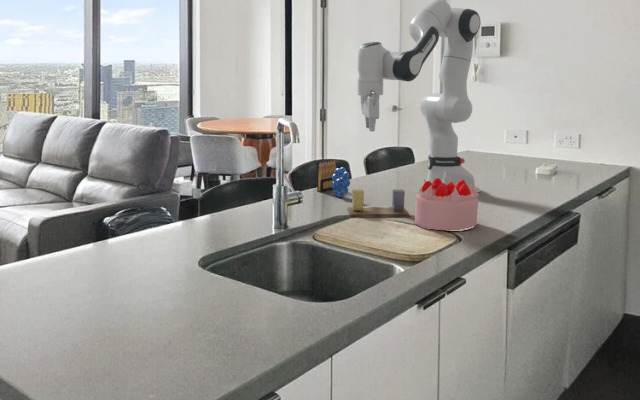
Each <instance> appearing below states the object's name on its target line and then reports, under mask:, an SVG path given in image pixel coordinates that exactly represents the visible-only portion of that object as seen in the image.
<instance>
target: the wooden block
mask: <svg viewBox="0 0 640 400" xmlns="http://www.w3.org/2000/svg"><path fill="white" fill-rule="evenodd" d="M364 193H365V191H364V189H363V188H352V198H351V199H352V201H351V202H352V204H351V207H352V209H353V210H363V207H365V206H364V205H365V204H364V201H365V198H364V197H365V194H364Z"/></svg>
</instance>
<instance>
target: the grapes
mask: <svg viewBox="0 0 640 400" xmlns="http://www.w3.org/2000/svg"><path fill="white" fill-rule="evenodd" d="M334 173H335V174H334V175H333V176H332V180H333V181H334V182H333V183H332V184H331V187H332V188H333V191H332V193H333V195H334V196H337V197H338V198H339V199H340V198H343V197H344V196H345V195H346V194H348V192H349V188H348V187H349V186H350V185H351V179H350V173H349V172H348V171H347V169H346V168H345V167H343V166H341V167H340V168H339V167H336V170H335V172H334Z"/></svg>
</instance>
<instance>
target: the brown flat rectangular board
mask: <svg viewBox="0 0 640 400" xmlns="http://www.w3.org/2000/svg"><path fill="white" fill-rule="evenodd" d="M347 211H348V215H349V217H350V218H410V213H409V212H408V210H407V208H405V207H404V212H394V211H393V210H392V206H363V210H353V209H352V206H347Z"/></svg>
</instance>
